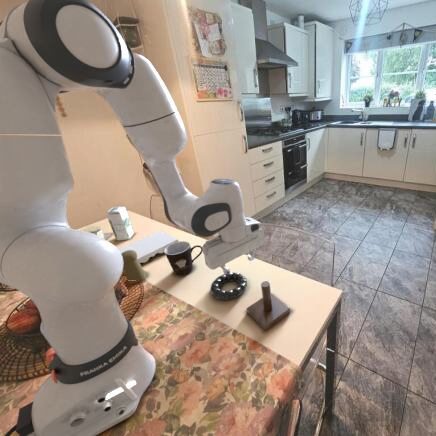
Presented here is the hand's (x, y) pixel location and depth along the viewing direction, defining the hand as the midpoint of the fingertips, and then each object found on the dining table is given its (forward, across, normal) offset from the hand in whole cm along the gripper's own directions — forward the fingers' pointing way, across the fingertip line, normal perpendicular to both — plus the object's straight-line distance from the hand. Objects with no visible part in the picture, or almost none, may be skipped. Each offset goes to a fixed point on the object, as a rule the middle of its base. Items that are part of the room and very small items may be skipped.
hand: (239, 266), depth 81 cm
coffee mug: (+6, -11, +20) cm, 23 cm away
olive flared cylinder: (+6, -26, +29) cm, 39 cm away
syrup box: (+7, -22, +67) cm, 71 cm away
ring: (+5, -5, 0) cm, 7 cm away
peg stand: (+6, -2, -17) cm, 19 cm away
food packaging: (+7, -18, +45) cm, 49 cm away
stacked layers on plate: (+7, -32, +75) cm, 82 cm away
